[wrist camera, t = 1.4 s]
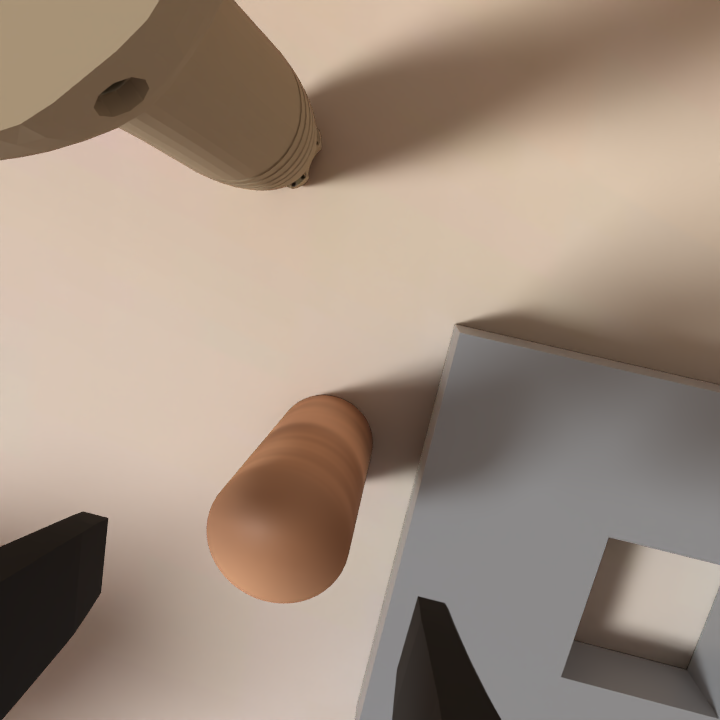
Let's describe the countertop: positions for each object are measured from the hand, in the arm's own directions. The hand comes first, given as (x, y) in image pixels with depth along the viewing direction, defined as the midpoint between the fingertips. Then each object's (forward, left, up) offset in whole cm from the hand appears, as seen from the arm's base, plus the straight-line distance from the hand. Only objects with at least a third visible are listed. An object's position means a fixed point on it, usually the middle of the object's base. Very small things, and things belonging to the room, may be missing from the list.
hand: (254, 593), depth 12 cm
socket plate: (-3, -14, -11) cm, 18 cm away
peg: (0, 0, -11) cm, 11 cm away
